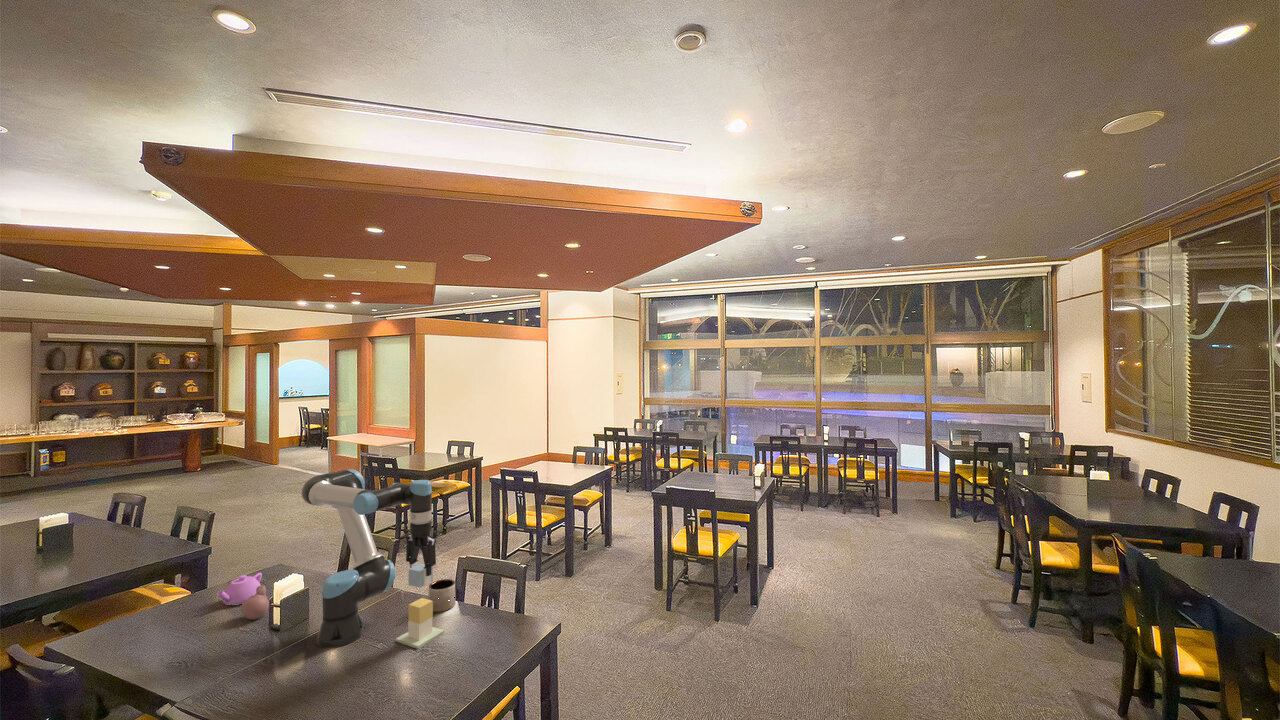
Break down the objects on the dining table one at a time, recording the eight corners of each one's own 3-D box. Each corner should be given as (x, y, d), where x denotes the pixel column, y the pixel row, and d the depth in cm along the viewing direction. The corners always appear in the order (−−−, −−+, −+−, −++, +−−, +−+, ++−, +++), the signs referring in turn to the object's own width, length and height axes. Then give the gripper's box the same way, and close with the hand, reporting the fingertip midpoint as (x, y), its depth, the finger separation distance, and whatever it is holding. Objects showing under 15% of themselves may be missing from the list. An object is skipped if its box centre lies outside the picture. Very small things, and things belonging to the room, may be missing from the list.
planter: (449, 612, 205) (449, 589, 205) (423, 613, 205) (423, 590, 205) (459, 600, 215) (459, 578, 216) (434, 600, 216) (434, 578, 216)
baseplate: (395, 641, 183) (395, 622, 183) (422, 626, 194) (422, 608, 194) (418, 649, 178) (418, 629, 178) (444, 632, 189) (444, 614, 189)
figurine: (254, 611, 208) (254, 582, 208) (274, 614, 205) (274, 585, 205) (232, 621, 199) (232, 592, 199) (253, 624, 196) (253, 594, 197)
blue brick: (408, 584, 185) (408, 569, 185) (421, 578, 191) (421, 563, 191) (419, 587, 183) (419, 571, 183) (432, 581, 188) (432, 565, 188)
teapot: (204, 610, 209) (204, 585, 209) (248, 590, 229) (248, 567, 229) (232, 612, 207) (232, 587, 207) (274, 591, 226) (274, 568, 227)
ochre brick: (408, 620, 185) (408, 604, 185) (421, 613, 190) (421, 597, 190) (419, 624, 182) (419, 607, 182) (432, 616, 187) (432, 600, 188)
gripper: (395, 521, 188) (395, 581, 187) (430, 527, 180) (430, 591, 179) (411, 515, 195) (411, 574, 194) (446, 521, 186) (446, 582, 186)
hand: (420, 582), depth 187 cm, fingers closed on blue brick, 6 cm apart
